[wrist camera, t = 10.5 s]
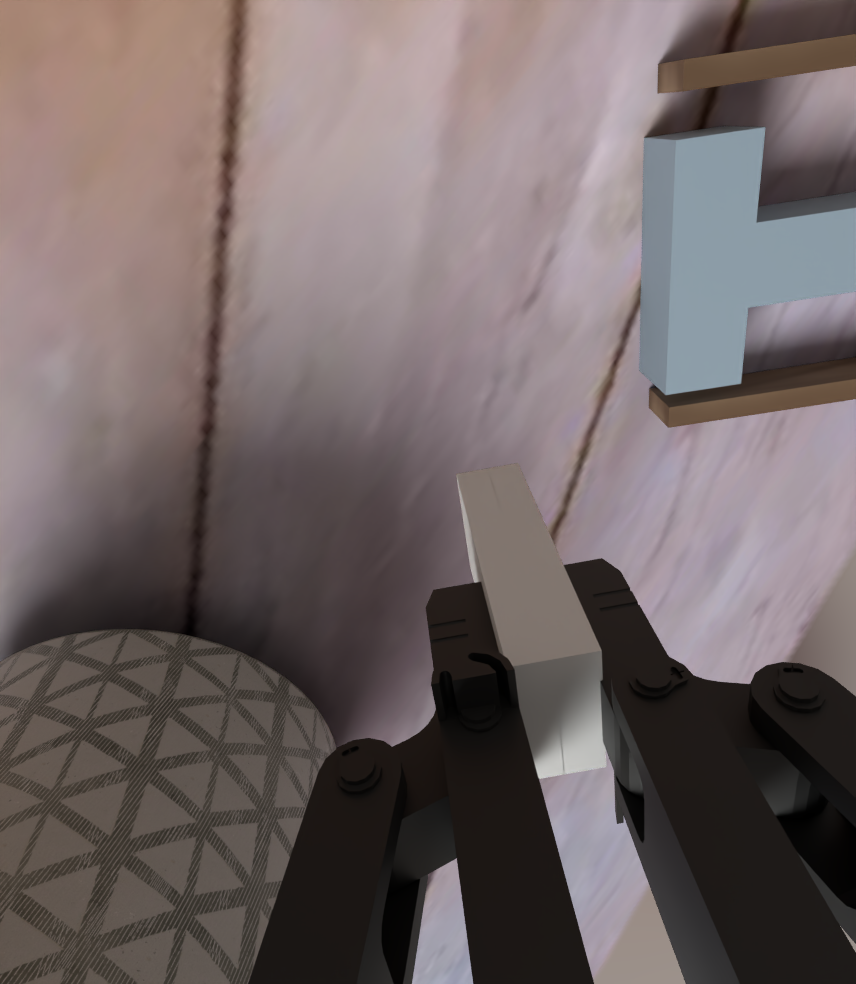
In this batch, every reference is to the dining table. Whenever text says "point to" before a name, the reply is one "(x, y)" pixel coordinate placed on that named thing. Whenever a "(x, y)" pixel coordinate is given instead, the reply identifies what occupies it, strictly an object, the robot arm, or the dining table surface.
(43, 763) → the planter
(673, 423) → the frame
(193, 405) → the dining table surface
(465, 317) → the dining table surface
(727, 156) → the t block
